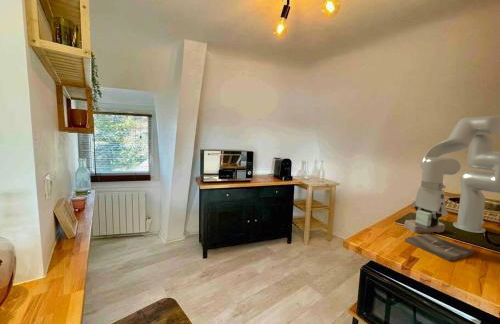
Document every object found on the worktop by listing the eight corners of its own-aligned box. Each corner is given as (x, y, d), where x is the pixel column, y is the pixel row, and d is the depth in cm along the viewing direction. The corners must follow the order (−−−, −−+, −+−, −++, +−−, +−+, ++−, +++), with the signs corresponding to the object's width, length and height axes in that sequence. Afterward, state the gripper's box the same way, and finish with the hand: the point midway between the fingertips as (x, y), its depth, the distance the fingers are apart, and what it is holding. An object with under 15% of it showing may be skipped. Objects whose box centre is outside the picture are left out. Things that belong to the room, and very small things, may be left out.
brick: (415, 233, 115) (416, 225, 114) (402, 227, 123) (403, 218, 123) (445, 233, 116) (446, 224, 116) (430, 226, 124) (431, 218, 124)
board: (427, 236, 112) (427, 233, 111) (473, 254, 95) (473, 251, 95) (404, 241, 106) (405, 238, 106) (449, 261, 89) (449, 257, 89)
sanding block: (426, 223, 108) (428, 209, 107) (438, 227, 103) (439, 212, 102) (415, 225, 105) (416, 210, 104) (426, 229, 100) (428, 214, 99)
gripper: (459, 189, 95) (453, 230, 97) (417, 181, 111) (413, 216, 113) (447, 190, 93) (442, 232, 95) (407, 182, 108) (403, 218, 111)
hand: (426, 223), depth 104 cm, fingers closed on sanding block, 5 cm apart
